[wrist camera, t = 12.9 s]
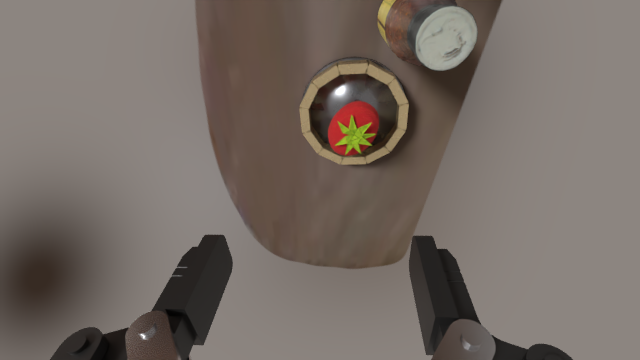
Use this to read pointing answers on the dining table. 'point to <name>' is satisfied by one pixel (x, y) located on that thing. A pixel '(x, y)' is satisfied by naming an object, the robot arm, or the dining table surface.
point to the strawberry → (353, 128)
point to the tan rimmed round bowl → (348, 86)
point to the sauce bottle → (428, 32)
